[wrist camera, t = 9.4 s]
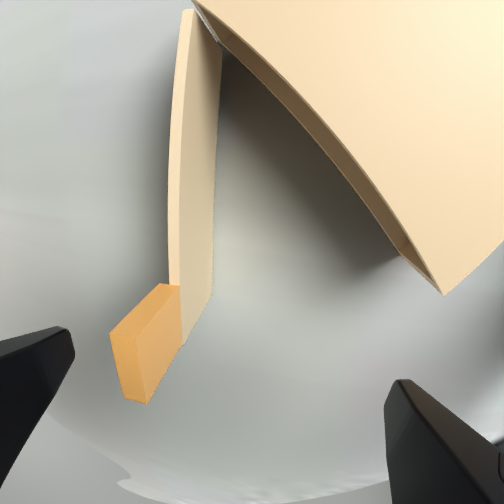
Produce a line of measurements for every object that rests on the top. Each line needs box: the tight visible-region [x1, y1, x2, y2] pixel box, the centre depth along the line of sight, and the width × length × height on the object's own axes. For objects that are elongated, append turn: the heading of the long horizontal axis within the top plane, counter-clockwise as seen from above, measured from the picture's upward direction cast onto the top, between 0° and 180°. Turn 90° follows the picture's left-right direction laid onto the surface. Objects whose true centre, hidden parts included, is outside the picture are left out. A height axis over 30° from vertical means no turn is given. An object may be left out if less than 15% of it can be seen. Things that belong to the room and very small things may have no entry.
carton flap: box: [109, 9, 223, 404], centre depth 13 cm, size 16×1×11 cm, turn 177°
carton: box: [191, 0, 504, 296], centre depth 12 cm, size 18×16×6 cm
